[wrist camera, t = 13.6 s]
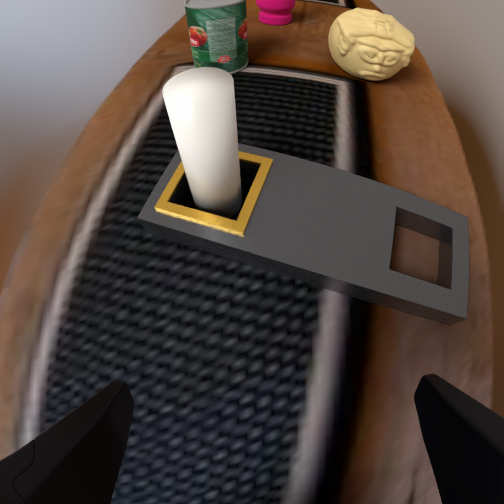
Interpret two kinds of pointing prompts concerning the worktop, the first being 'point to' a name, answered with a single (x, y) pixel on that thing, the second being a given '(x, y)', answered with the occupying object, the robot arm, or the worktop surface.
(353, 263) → the grey board with holes
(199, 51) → the canned tomato
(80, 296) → the worktop surface
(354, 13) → the sculpture
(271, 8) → the pepper mill
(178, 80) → the peg
